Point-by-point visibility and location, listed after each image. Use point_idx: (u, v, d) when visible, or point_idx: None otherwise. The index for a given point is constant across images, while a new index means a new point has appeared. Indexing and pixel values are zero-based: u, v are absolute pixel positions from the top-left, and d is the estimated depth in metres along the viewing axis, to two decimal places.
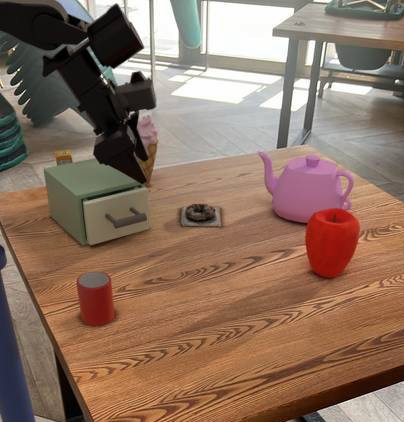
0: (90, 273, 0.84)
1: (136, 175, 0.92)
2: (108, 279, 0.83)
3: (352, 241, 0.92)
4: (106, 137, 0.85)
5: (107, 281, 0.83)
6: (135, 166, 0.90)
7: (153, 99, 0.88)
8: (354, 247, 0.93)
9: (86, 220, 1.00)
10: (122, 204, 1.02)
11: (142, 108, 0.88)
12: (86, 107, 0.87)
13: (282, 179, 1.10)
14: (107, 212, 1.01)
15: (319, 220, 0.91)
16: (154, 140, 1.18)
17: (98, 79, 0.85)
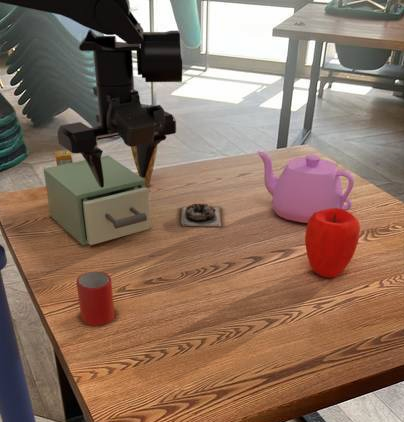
0: (90, 273, 0.84)
1: (96, 176, 0.94)
2: (108, 279, 0.83)
3: (352, 241, 0.92)
4: (68, 129, 0.87)
5: (107, 281, 0.83)
6: (94, 169, 0.92)
7: (131, 139, 0.85)
8: (354, 247, 0.93)
9: (86, 220, 1.00)
10: (122, 204, 1.02)
11: (121, 137, 0.86)
12: (97, 94, 0.88)
13: (282, 179, 1.10)
14: (107, 212, 1.01)
15: (319, 220, 0.91)
16: None
17: (128, 82, 0.86)
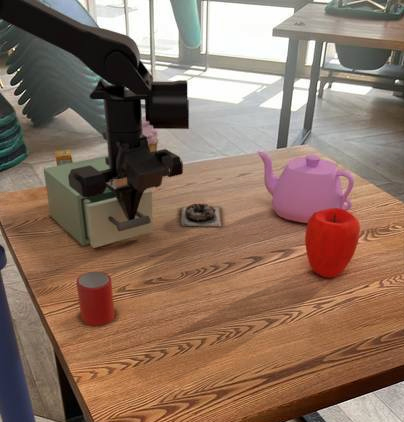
0: (90, 273, 0.84)
1: (125, 210, 0.98)
2: (108, 279, 0.83)
3: (352, 241, 0.92)
4: (79, 173, 0.90)
5: (107, 281, 0.83)
6: (123, 204, 0.97)
7: (140, 184, 0.88)
8: (354, 247, 0.93)
9: (89, 223, 0.99)
10: None
11: (131, 181, 0.89)
12: (107, 139, 0.91)
13: (282, 179, 1.10)
14: (111, 214, 1.00)
15: (319, 220, 0.91)
16: (154, 140, 1.18)
17: (136, 129, 0.88)
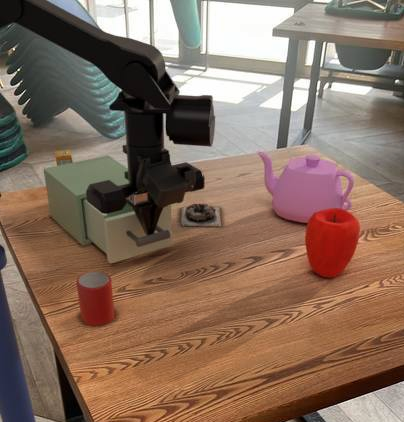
0: (90, 273, 0.84)
1: (144, 226, 0.94)
2: (108, 279, 0.83)
3: (352, 241, 0.92)
4: (98, 188, 0.86)
5: (107, 281, 0.83)
6: (142, 220, 0.93)
7: (162, 201, 0.84)
8: (354, 247, 0.93)
9: (107, 238, 0.95)
10: None
11: (152, 197, 0.85)
12: (126, 153, 0.87)
13: (282, 179, 1.10)
14: (129, 229, 0.96)
15: (319, 220, 0.91)
16: None
17: (156, 143, 0.84)
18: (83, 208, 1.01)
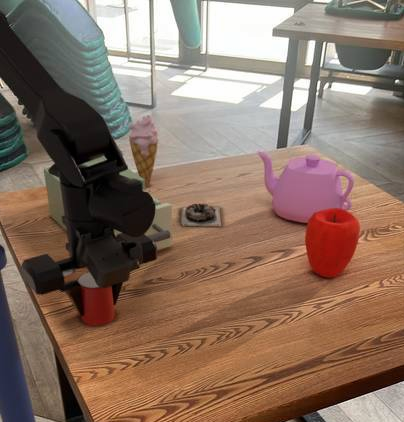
0: None
1: (75, 304, 0.84)
2: None
3: (352, 241, 0.92)
4: (33, 266, 0.76)
5: None
6: (72, 299, 0.82)
7: (103, 282, 0.75)
8: (354, 247, 0.93)
9: None
10: None
11: (93, 277, 0.76)
12: (66, 224, 0.78)
13: (282, 179, 1.10)
14: None
15: (319, 220, 0.91)
16: (154, 140, 1.18)
17: (85, 219, 0.74)
18: None
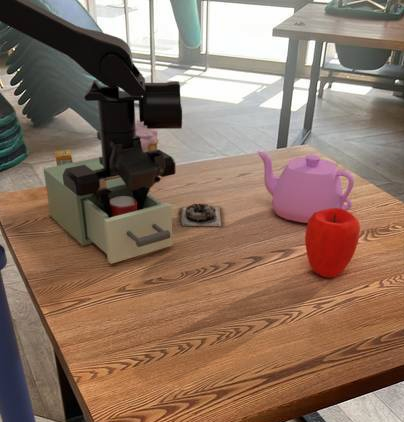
0: (119, 197, 1.01)
1: None
2: (134, 201, 1.00)
3: (352, 241, 0.92)
4: (73, 172, 0.91)
5: (134, 202, 0.99)
6: (103, 206, 0.97)
7: (133, 184, 0.90)
8: (354, 247, 0.93)
9: (107, 238, 0.95)
10: (144, 221, 0.97)
11: (124, 181, 0.91)
12: (100, 139, 0.93)
13: (282, 179, 1.10)
14: (129, 229, 0.96)
15: (319, 220, 0.91)
16: (154, 140, 1.18)
17: (130, 129, 0.90)
18: (83, 209, 1.01)
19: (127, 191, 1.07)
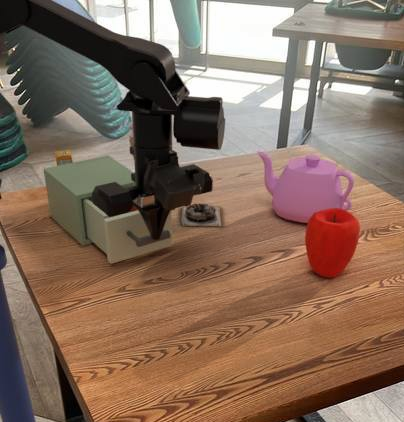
0: None
1: (150, 229, 0.93)
2: None
3: (352, 241, 0.92)
4: (104, 190, 0.84)
5: None
6: (149, 223, 0.91)
7: (170, 204, 0.82)
8: (354, 247, 0.93)
9: (107, 238, 0.95)
10: None
11: (159, 200, 0.83)
12: (134, 154, 0.85)
13: (282, 179, 1.10)
14: (129, 229, 0.96)
15: (319, 220, 0.91)
16: None
17: (163, 145, 0.82)
18: (83, 208, 1.01)
19: None
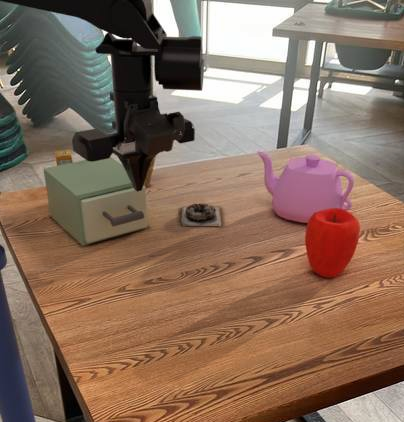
0: None
1: (132, 179, 0.92)
2: None
3: (352, 241, 0.92)
4: (84, 136, 0.83)
5: None
6: (131, 172, 0.90)
7: (150, 148, 0.82)
8: (354, 247, 0.93)
9: (84, 218, 1.01)
10: (119, 202, 1.02)
11: (139, 145, 0.83)
12: (114, 100, 0.85)
13: (282, 179, 1.10)
14: (105, 210, 1.02)
15: (319, 220, 0.91)
16: None
17: (144, 88, 0.82)
18: None
19: None
